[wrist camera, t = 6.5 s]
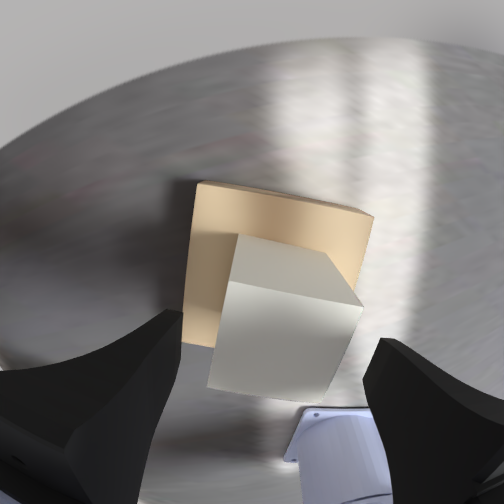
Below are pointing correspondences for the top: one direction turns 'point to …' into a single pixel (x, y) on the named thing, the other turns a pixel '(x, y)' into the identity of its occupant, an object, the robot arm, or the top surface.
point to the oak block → (266, 227)
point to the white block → (282, 322)
